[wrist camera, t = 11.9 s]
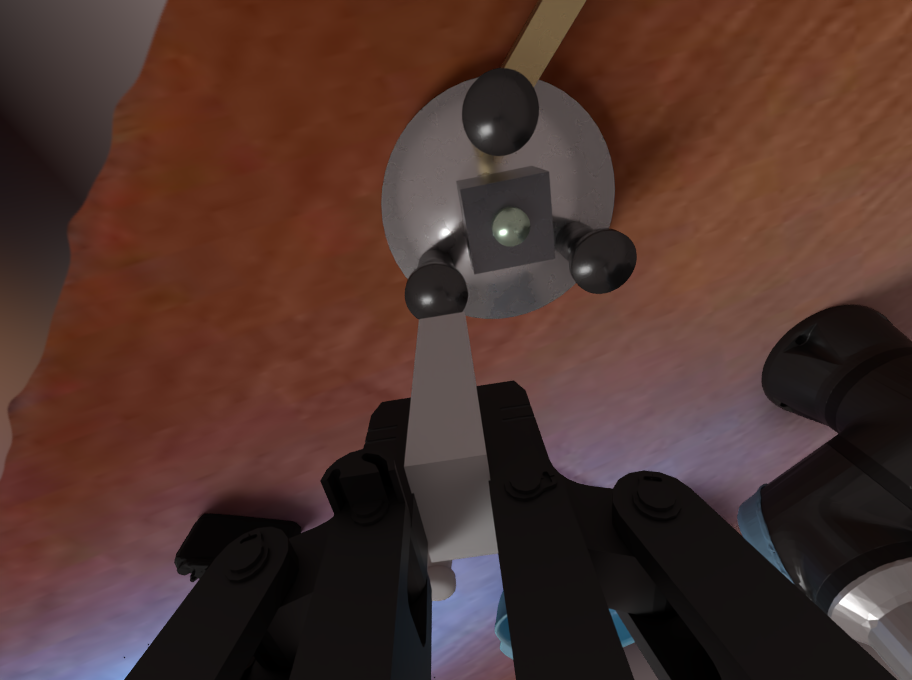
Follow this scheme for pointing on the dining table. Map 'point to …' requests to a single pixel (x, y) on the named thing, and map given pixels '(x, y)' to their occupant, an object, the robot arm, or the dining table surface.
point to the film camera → (220, 539)
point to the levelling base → (460, 158)
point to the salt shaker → (441, 579)
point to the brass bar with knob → (516, 82)
